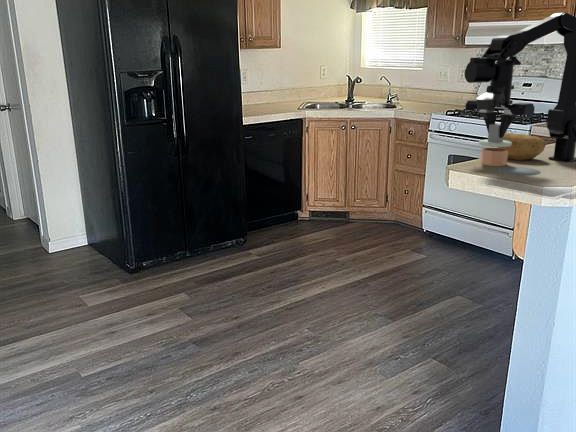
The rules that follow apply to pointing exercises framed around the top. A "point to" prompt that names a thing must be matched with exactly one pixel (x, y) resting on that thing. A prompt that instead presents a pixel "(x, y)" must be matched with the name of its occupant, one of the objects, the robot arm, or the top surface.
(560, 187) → the top surface
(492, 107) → the robot arm
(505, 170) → the mat
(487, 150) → the cup
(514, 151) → the potato
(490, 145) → the lid
